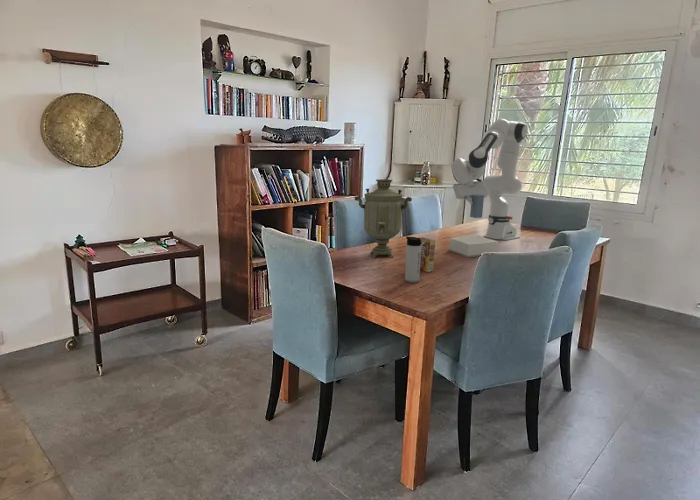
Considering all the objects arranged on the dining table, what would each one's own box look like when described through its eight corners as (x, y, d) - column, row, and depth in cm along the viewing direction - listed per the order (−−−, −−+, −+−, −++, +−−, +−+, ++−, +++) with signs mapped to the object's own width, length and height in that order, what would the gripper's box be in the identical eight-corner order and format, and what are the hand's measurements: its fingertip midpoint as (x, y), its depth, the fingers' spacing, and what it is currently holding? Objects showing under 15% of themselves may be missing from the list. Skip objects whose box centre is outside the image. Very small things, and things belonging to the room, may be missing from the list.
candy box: (433, 271, 219) (436, 240, 216) (427, 272, 217) (429, 241, 213) (420, 266, 226) (421, 236, 222) (413, 268, 223) (415, 237, 220)
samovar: (344, 259, 237) (345, 181, 228) (361, 247, 261) (362, 176, 251) (401, 265, 228) (404, 184, 218) (412, 253, 251) (416, 179, 242)
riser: (477, 247, 268) (478, 235, 266) (497, 254, 253) (499, 241, 251) (448, 250, 259) (449, 238, 258) (467, 257, 245) (468, 244, 243)
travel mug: (402, 279, 206) (404, 235, 202) (417, 278, 207) (419, 235, 202) (405, 283, 200) (407, 238, 195) (420, 283, 201) (423, 238, 196)
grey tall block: (476, 216, 254) (478, 194, 251) (482, 217, 250) (484, 195, 247) (470, 216, 252) (471, 194, 250) (475, 218, 249) (477, 195, 246)
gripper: (454, 180, 249) (464, 201, 243) (484, 179, 257) (494, 199, 251) (448, 187, 254) (458, 208, 248) (478, 186, 263) (488, 206, 256)
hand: (477, 203), depth 250 cm, fingers closed on grey tall block, 4 cm apart
